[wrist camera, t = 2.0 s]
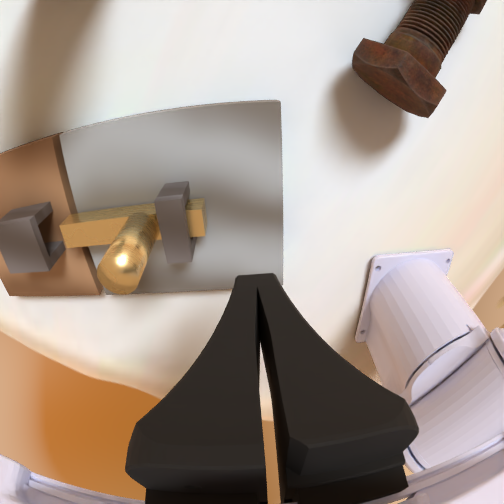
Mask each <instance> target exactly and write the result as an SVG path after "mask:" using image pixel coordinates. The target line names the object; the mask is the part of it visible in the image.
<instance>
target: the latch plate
mask: <svg viewBox="0 0 504 504" xmlns="http://www.w3.org/2000/svg"><path fill="white" fill-rule="evenodd" d="M199 198H204V199H205V207H206V215H207V229H206V235H205V236H200V237H190V235H189V229H188V223H187V217H186V211H185V205H186V203H187V200H188V199H199ZM150 203H154V205H155V210H156V215H157V219H158V224H159V229H160V234H161V238H162V240H156V242H155V244H154V246H153V249H152V251H151V254H150V256H149V258H148V261H147V263H146V266H145V268H144V271H143V273H142V276H141V278H140V281H139V283H138V286H137V288H136V289H135V290H134V291H133V292H131V293H129V294H141V293H164V292H184V291H202V290H219V289H233V287H234V283H235V278H236V277H237V276H238V275H250V274H264V273H274V274H275V275H276V276H277V278H278V280H279V282H280V284H281V285H283V174H282V132H281V102H280V101H278V100H258V101H240V102H227V103H215V104H205V105H196V106H188V107H180V108H173V109H166V110H160V111H154V112H148V113H142V114H137V115H132V116H127V117H122V118H117V119H112V120H108V121H104V122H99V123H95V124H91V125H87V126H83V127H79V128H76V129H72V130H69V131H67V132H64V133H63V132H61V133H58V134H55V135H51V136H48V137H45V138H42V139H39V140H36V141H33V142H30V143H27V144H24V145H21V146H18V147H16V148H13V149H10V150H8V151H5V152H2V153H0V278H1V280H2V282H3V284H4V286H5V288H6V290H7V292H8V294H9V296H72V295H100V293H101V291H102V289H103V288H104V290H105V293H106V295H113V294H116V293H113V292H111V291H109V290H108V289H106V288H105V287H104V286H103V285H102V284H101V283H100V281H99V279H98V276H97V267H98V265H99V263H100V261H101V260H102V258H103V256H104V255H105V253H106V251H107V250H108V248H109V247H110V245H111V244H106V245H95V246H85V247H74V248H67V247H66V244H65V241H64V238H63V235H62V232H61V229H60V226H59V225H60V224H61V223H62V222H63V221H64V220H65V219H66V218H67V217H68V216H69V215H70V214H74V213H81V212H88V211H95V210H102V209H109V208H117V207H125V206H133V205H141V204H150Z"/></svg>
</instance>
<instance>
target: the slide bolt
mask: <svg viewBox="0 0 504 504" xmlns="http://www.w3.org/2000/svg"><path fill="white" fill-rule="evenodd" d="M185 211H186V217H187V223H188V229H189V235H190V237H200V236H205V235H206V229H207V215H206V207H205V199H204V198H199V199H188V200H187V203H186V205H185ZM59 226H60V229H61V232H62V235H63V238H64V241H65V244H66V247H67V248H74V247H85V246H95V245H106V244H111V245H110V247H109V248H108V250H107V251H106V253H105V255H104V256H103V258H102V260H101V261H100V263H99V265H98V267H97V276H98V279H99V281H100V283H101V284H102V285H103V286H104V287H105V288H106V289H108V290H109V291H111V292H113V293H116V294H121V295H124V294H129V293H131V292H133V291H134V290H135V289H136V288H137V286H138V283H139V281H140V278H141V276H142V273H143V271H144V268H145V266H146V263H147V261H148V258H149V256H150V254H151V251H152V249H153V246H154V244H155V242H156V240H162V238H161V234H160V229H159V224H158V219H157V215H156V210H155V205H154V203H150V204H141V205H133V206H125V207H117V208H109V209H102V210H95V211H88V212H81V213H74V214H70V215H69V216H68V217H67V218H66V219H65V220H64V221H63V222H62V223H61V224H60V225H59Z"/></svg>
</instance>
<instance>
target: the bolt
mask: <svg viewBox="0 0 504 504" xmlns="http://www.w3.org/2000/svg"><path fill="white" fill-rule="evenodd" d="M486 1H487V0H415V1H414V3H413V4H412V6H411V7H410V9H409V10H408V12H407V13H406V15H405V16H404V18H403V19H402V21H401V22H400V24H399V25H398V27H397V29H396V30H395V31H394V32H393V33H391V35H390V36H389V38H388V39H387V41H386V42H385V44H382V43H379V42H375V41H372V40H368V39H365V38H363V39H362V41H361V42H360V44H359V45H358V47H357V48H356V50H355V51H354V54H353V59H352V67H353V69H354V70H355V71H356V73H357V74H358V75H359V76H360V77H361V78H362V79H363V80H364V81H365V82H366V83H367V84H368V85H370V86H371V87H372V88H373V89H375V90H376V91H377V92H378V93H379V94H381V95H382V96H384V97H385V98H386V99H388V100H389V101H391V102H392V103H394V104H396V105H397V106H399V107H400V108H402V109H403V110H405V111H406V112H409V113H412V114H415V115H417V116H420V117H426V118H429V116H430V115H431V114H432V113H433V112H434V110H435V109H436V107H437V106H438V104H439V102H440V101H441V99H442V97H443V96H444V94H445V92H446V89H445V88H444V87H443V86H442V85H441V84H440V83H439V82H438V81H437V80H436V79H435V78H436V76H437V74H438V72H439V71H440V69H441V64H442V62H443V60H444V58H445V57H446V55H447V54H448V51H449V50H450V48H451V46H452V45H453V43H454V42H455V40H456V37H457V36H458V34H459V33H460V30H461V28H462V27H463V25H464V23H465V21H466V20H467V18H468V15H469V14H470V13H471V14H480V12H481V10H482V9H483V7H484V5H485V3H486Z"/></svg>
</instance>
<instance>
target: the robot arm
mask: <svg viewBox="0 0 504 504" xmlns="http://www.w3.org/2000/svg"><path fill="white" fill-rule="evenodd" d="M453 254H454V253H453V251H452V250H451V249H441V250H430V251H419V252H408V253H397V254H385V255H377V256H375V257H374V258H373V259H372V263H371V268H370V273H369V278H368V283H367V288H366V293H365V297H364V302H363V306H362V311H361V315H360V319H359V323H358V327H357V331H356V335H355V341H356V342H357V343H361V342H366V344H367V346H368V349H369V351H370V354H371V357H372V359H373V362H374V364H375V367H376V369H377V372H378V375H379V377H380V380H381V383H382V385H383V386H381V385H379V384H378V383H376V382H375V381H373V380H372V379H370V378H369V377H367V376H366V375H364V374H363V373H362V372H360V371H359V370H358V369H356V368H355V367H354V366H353V365H351V364H350V363H349V362H347V361H346V360H345V359H344V358H342V357H341V356H340V355H339V354H338V353H337V352H336V351H334V350H333V349H332V348H331V347H330V346H329V345H328V344H327V343H326V342H325V341H324V340H323V339H322V338H321V337H320V336H319V335H318V334H317V333H316V332H315V330H314V329H313V328H312V327H311V326H310V325H309V324H308V322H307V321H306V320H305V319H304V318H303V316H302V315H301V314H300V312H299V311H298V310H297V308H296V307H295V306H294V304H293V303H292V302H291V300H290V299H289V297H288V296H287V294H286V292H285V291H284V289H283V288H282V286H281V284H280V282H279V280H278V278H277V276H276V275H275V274H274V273H264V274H250V275H238V276H237V277H236V278H235V283H234V287H233V290H232V293H231V296H230V299H229V301H228V304H227V306H226V308H225V311H224V313H223V315H222V317H221V319H220V321H219V323H218V325H217V327H216V329H215V331H214V333H213V335H212V336H211V338H210V340H209V341H208V343H207V345H206V346H205V348H204V349H203V351H202V352H201V354H200V355H199V357H198V358H197V359H196V361H195V362H194V363H193V365H192V366H191V367H190V369H189V370H188V371H187V373H186V374H185V375H184V376H183V378H182V379H181V380H180V381H179V382H178V383H177V384H176V385H175V386H174V388H173V389H172V390H171V391H170V392H169V393H168V394H167V395H166V396H165V397H164V398H163V399H162V400H161V401H160V402H159V403H158V404H157V405H156V406H155V407H154V408H153V409H152V410H150V411H149V412H148V413H147V414H146V415H145V416H144V417H143V418H141V419H140V420H139V421H138V422H137V423H136V425H135V428H134V430H133V433H132V436H131V440H130V442H129V446H128V452H127V458H126V466H125V471H126V473H127V474H128V475H129V476H130V477H131V478H132V479H134V480H135V481H137V482H138V483H140V484H141V485H142V486H144V487H145V488H146V498H145V501H141V500H135V499H129V498H123V497H118V496H113V495H108V494H104V493H100V492H95V491H91V490H87V489H83V488H80V487H76V486H72V485H69V484H66V483H63V482H59V481H56V480H53V479H50V478H47V477H45V476H42V475H39V474H36V473H34V472H31V471H30V470H29V469H28V468H26V467H25V466H23V465H21V464H20V463H18V462H16V461H14V460H12V459H10V458H8V457H5V456H3V455H1V454H0V504H268V500H267V481H266V466H265V455H264V454H265V453H264V441H263V432H262V431H263V430H262V418H261V407H260V395H259V375H260V343H261V348H262V353H263V358H264V363H265V368H266V373H267V378H268V383H269V388H270V393H271V399H272V408H273V418H274V429H275V439H276V450H277V462H278V472H279V485H280V498H281V504H388V503H392V502H394V501H398V500H401V499H403V498H406V497H408V498H407V499H406V501H403V502H401V503H398V504H504V328H500V329H499V328H498V327H497V328H495V329H494V330H493V331H492V332H491V334H490V333H489V332H488V331H487V330H486V328H485V327H484V326H483V324H482V323H481V321H480V320H479V318H478V317H477V316H476V314H475V313H474V311H473V310H472V309H471V307H470V306H469V305H468V303H467V302H466V301H465V299H464V298H463V297H462V295H461V294H460V293H459V292H458V290H457V289H456V288H455V286H454V285H453V284H452V283H451V281H450V280H449V279H448V278H447V273H448V270H449V267H450V264H451V261H452V258H453ZM377 266H379V267H378V268H376V267H377ZM362 330H363V331H362ZM404 464H405V466H406V467H407V468H408V469H409V470H410V471H411V472H413V473H414V474H412V475H409V476H406V475H405V472H404V469H403V465H404Z"/></svg>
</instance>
